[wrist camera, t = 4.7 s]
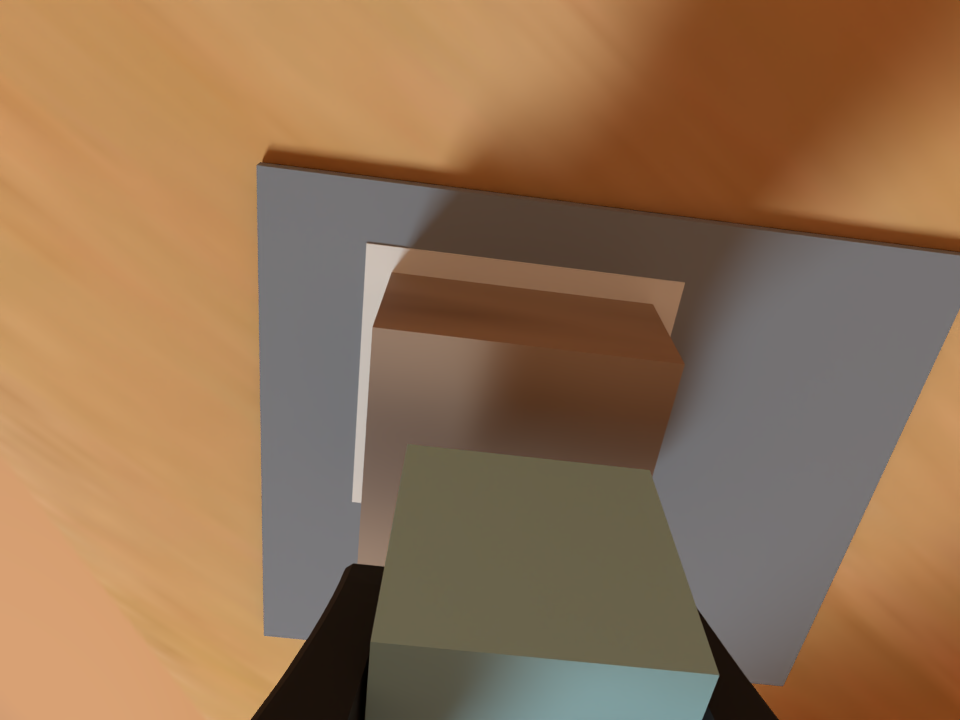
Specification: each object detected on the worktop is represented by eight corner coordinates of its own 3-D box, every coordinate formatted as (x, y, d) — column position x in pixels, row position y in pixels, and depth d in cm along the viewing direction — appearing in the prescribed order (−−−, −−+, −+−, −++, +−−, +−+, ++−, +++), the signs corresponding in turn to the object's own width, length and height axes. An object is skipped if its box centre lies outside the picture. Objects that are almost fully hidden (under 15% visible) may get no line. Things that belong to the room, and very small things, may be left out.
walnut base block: (600, 510, 19) (618, 594, 16) (375, 486, 19) (357, 567, 16) (653, 304, 16) (685, 364, 14) (391, 272, 16) (372, 327, 13)
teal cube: (601, 642, 14) (642, 872, 10) (391, 621, 13) (356, 848, 10) (649, 470, 12) (719, 675, 8) (407, 443, 12) (370, 641, 8)
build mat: (779, 677, 22) (783, 687, 22) (266, 627, 22) (263, 636, 21) (974, 254, 16) (984, 259, 16) (260, 162, 15) (256, 165, 15)
